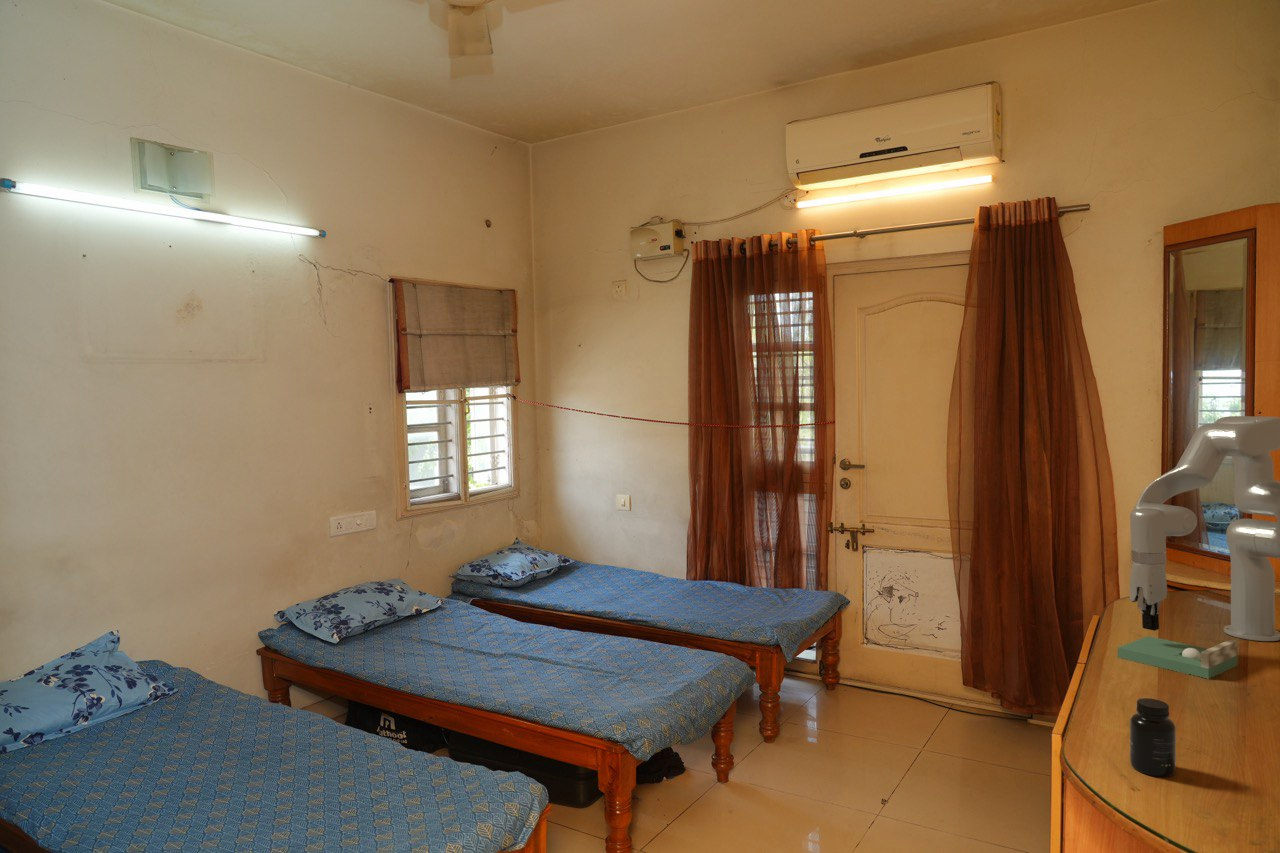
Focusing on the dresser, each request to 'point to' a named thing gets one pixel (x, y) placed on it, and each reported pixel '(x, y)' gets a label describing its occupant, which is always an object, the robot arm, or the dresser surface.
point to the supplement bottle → (1152, 739)
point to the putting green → (1171, 657)
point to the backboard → (1218, 653)
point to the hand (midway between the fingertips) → (1150, 628)
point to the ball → (1191, 653)
